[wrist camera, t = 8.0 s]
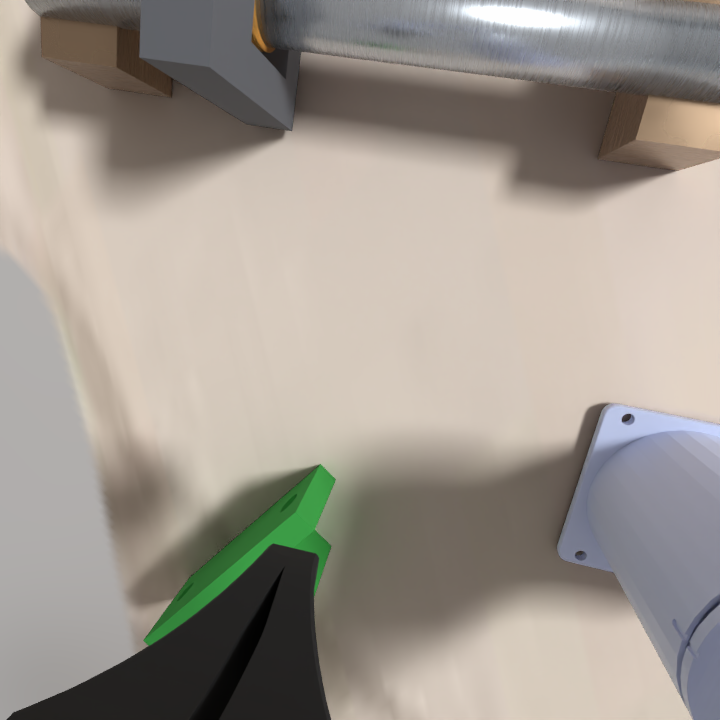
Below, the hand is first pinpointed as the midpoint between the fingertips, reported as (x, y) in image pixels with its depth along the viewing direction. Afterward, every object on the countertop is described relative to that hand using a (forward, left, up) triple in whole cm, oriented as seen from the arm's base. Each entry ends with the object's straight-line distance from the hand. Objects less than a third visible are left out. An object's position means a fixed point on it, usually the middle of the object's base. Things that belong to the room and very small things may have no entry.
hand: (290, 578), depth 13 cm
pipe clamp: (+3, +8, -11) cm, 14 cm away
